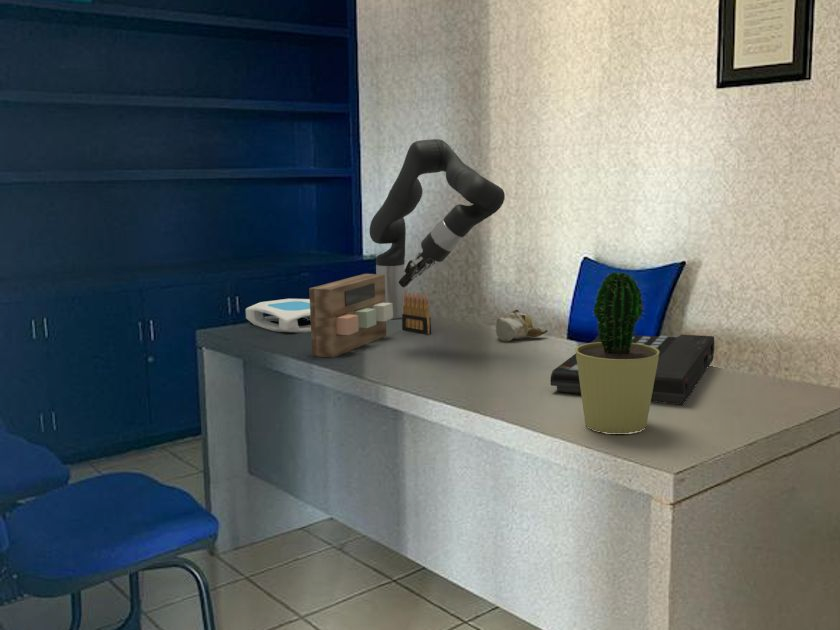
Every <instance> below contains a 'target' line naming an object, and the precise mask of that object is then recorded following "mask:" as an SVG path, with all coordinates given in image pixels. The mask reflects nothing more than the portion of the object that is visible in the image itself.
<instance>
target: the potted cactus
mask: <svg viewBox="0 0 840 630" xmlns="http://www.w3.org/2000/svg"><path fill="white" fill-rule="evenodd" d="M605 276H606V277H603V279H600V281H598V283H599V284H601V287H600V288H599V287H596V290H597V292H596V293H597V294H596V293H595V294H594V295H595V296H593V299H595V301H593V300H591V301H593V302H592V303H594V305H592V306H591V307H592V308H593V313H592V314H591V315H592V316H591V318H592V317H595V318H596V320H597V321H596V324H597V328H595V331H597V330H598V331H597V332H596V338H597V337H600V339H601V340H600V341H601V342H598V341H597V342H596V343H591V342H589V343H584V344H581V345H580V344H579V345H578V346H577V347H575V348H574V352H575V354H576V359H577V366H578V373H579V381H580V388H581V394H580V395H581V396H580V397H581V402H582V409H583V416H584V424H585V426H586V425H587V427H589V428H591V429H593V430H596V431H600V432H607V433H629V432H635V431H640V430H642V429H644V428H645V427H646V428H647V425H648V418H649V415H650V407H651V402H652V401H651V397H652V391H653V386H654V380H655V375H656V369H657V364H658V358H659V350H658V349H656V348H654V347H651V346H648V345H643V344H637V343H632V342H633V341H632V337H633V335H638V332H637V331H636V329H635V328H636V327H637V325H638V324H639V322H640V321H642V320H644V317H643V316H642V315H643V314H644V315H646V316H647V314H646V313H645V312H643V310H646V306H645V305H646V303H643V302H644V301H645V300H646V298H645V299H644V298H643V295H642V293H643V292H644V290H642V291H640V290H641V289H643V286H642V287H640V286H638V285H639V283H640V280H638V281H637V280H634V278H632V276H633V274H632V272H631V271H630V272H629V273H626V272H623V271H622V272H621V271H620V272H617V271H612V272H611V273H609V272H606V275H605ZM639 325H640V324H639ZM597 334H598V335H597ZM587 427H586V428H587Z"/></svg>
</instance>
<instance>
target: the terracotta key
mask: <svg viewBox="0 0 840 630" xmlns="http://www.w3.org/2000/svg"><path fill="white" fill-rule="evenodd" d="M358 331H359V325H358V315H350V314H343V315H340V316H337V317H336V334H340V335H350V334H353V333H355V332H358Z"/></svg>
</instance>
